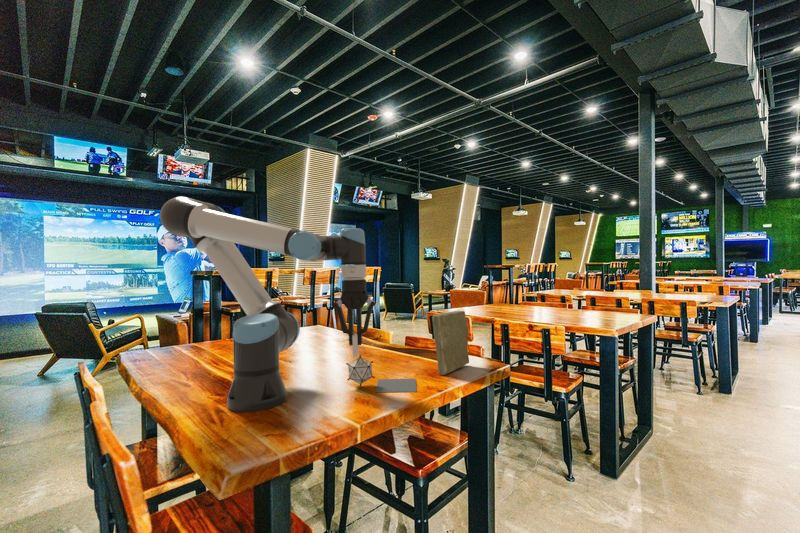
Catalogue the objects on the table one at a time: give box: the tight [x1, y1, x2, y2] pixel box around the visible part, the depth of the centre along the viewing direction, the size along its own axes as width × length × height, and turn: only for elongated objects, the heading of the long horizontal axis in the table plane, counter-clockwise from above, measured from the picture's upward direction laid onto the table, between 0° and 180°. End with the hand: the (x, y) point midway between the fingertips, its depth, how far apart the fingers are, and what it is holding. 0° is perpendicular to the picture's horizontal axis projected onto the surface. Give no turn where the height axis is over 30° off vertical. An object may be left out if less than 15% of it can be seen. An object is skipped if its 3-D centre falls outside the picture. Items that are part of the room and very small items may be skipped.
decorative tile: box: [431, 310, 470, 376], centre depth 130 cm, size 19×6×20 cm, turn 143°
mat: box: [375, 378, 418, 394], centre depth 112 cm, size 12×12×1 cm
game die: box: [346, 354, 376, 387], centre depth 112 cm, size 9×8×10 cm
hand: (355, 355), depth 112 cm, fingers closed
